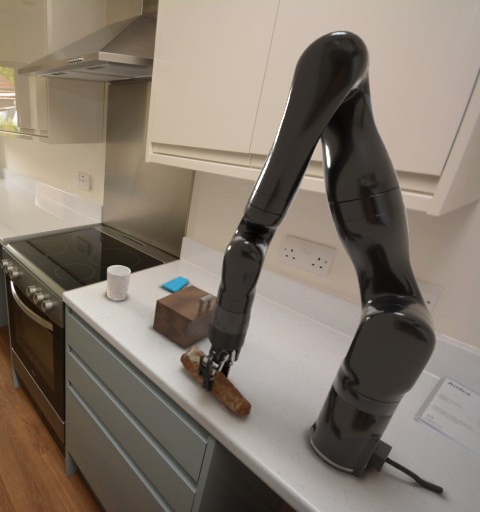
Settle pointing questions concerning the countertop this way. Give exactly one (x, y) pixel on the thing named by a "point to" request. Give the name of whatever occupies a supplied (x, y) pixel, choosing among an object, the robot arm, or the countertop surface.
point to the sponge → (175, 284)
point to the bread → (217, 383)
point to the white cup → (117, 282)
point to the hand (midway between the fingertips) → (214, 382)
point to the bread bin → (180, 327)
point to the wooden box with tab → (189, 303)
